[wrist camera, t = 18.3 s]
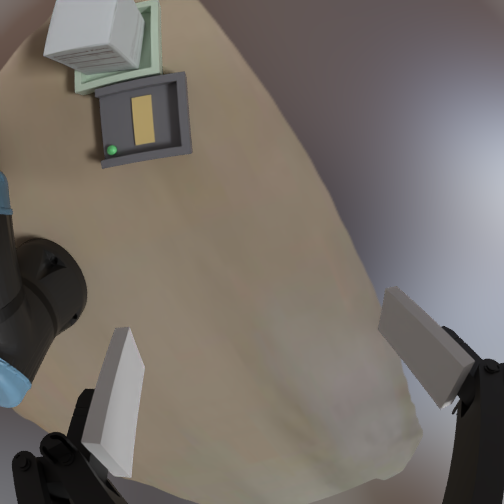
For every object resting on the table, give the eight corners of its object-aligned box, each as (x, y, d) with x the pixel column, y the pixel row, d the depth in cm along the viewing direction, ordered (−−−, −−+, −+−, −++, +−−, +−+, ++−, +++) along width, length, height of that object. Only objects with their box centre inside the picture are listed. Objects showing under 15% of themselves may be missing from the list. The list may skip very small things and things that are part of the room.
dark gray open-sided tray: (110, 165, 34) (102, 168, 30) (104, 93, 30) (94, 89, 26) (192, 152, 35) (191, 153, 32) (186, 77, 31) (184, 71, 28)
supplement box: (95, 28, 25) (56, -6, 13) (147, 22, 26) (125, -22, 15) (86, 77, 28) (40, 57, 16) (139, 71, 29) (110, 43, 17)
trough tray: (83, 95, 29) (75, 92, 26) (84, 26, 25) (76, 20, 22) (162, 77, 30) (159, 72, 28) (161, 7, 26) (158, -2, 23)
